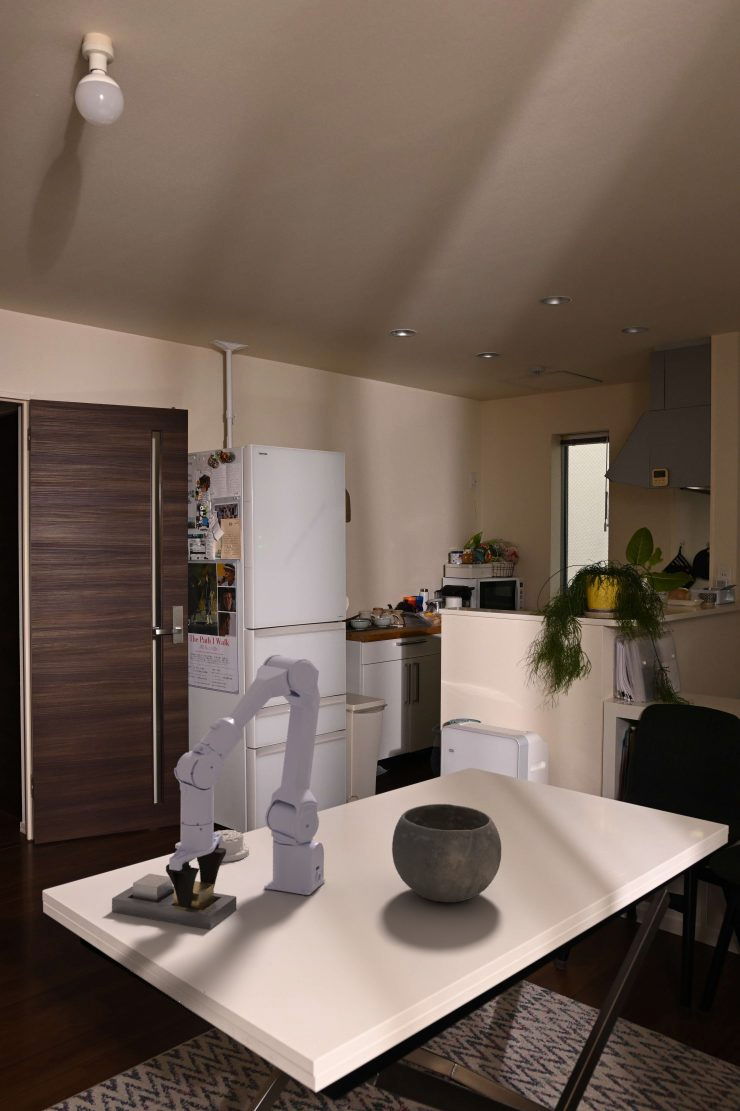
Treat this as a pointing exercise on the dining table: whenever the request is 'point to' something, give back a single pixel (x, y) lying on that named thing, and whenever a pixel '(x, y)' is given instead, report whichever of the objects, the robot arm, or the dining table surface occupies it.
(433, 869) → the bowl
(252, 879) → the dining table surface
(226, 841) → the mechanical component
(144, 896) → the silver gray cube
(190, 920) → the grey tray
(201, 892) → the brushed gold cube
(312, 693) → the robot arm
